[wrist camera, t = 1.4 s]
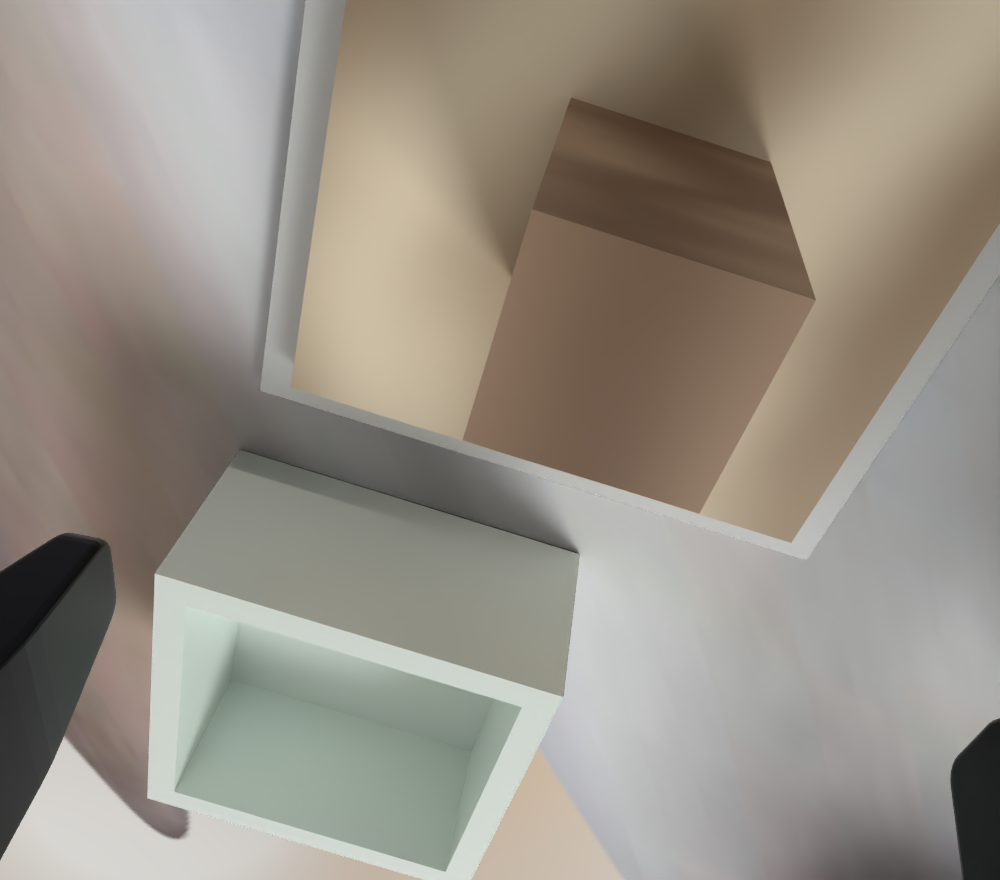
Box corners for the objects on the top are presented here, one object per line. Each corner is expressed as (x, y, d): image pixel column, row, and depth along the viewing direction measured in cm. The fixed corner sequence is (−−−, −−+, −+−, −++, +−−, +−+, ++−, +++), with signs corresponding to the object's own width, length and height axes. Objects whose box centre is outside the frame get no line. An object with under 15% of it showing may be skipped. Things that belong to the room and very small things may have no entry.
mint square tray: (579, 554, 24) (563, 697, 20) (491, 750, 30) (464, 891, 26) (239, 449, 24) (155, 573, 20) (216, 668, 30) (147, 798, 26)
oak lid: (1135, -26, 15) (1421, 59, 9) (787, 522, 22) (828, 749, 17) (397, -273, 14) (230, -340, 9) (301, 370, 22) (180, 551, 16)
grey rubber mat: (1222, -76, 14) (1235, -73, 14) (804, 550, 23) (806, 560, 23) (356, -369, 14) (348, -373, 14) (265, 382, 23) (260, 390, 22)
